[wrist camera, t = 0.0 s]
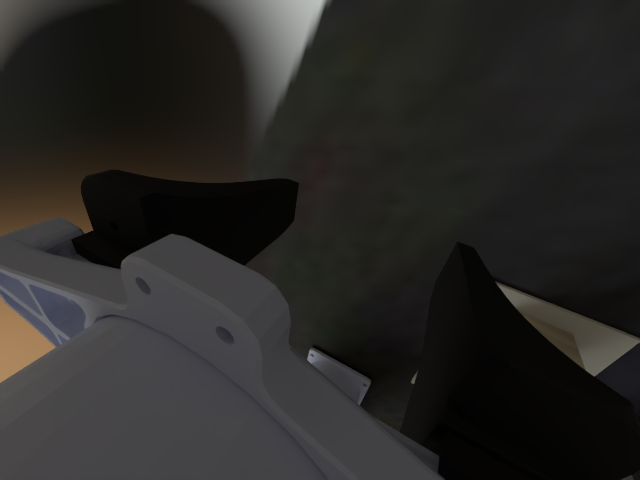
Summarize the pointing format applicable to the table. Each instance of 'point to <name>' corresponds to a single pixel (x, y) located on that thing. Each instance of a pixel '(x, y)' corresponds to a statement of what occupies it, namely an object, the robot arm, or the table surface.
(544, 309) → the felt mat
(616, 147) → the table surface
